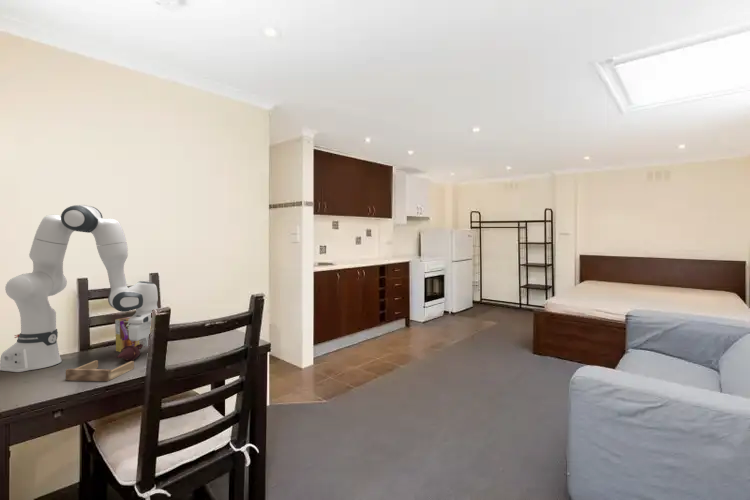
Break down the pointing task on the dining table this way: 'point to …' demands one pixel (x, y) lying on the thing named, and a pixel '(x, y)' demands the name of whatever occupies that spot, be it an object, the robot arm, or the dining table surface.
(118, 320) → the candy box
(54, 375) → the dining table surface
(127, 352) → the maroon pointed bulb
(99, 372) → the wooden u-shaped frame
